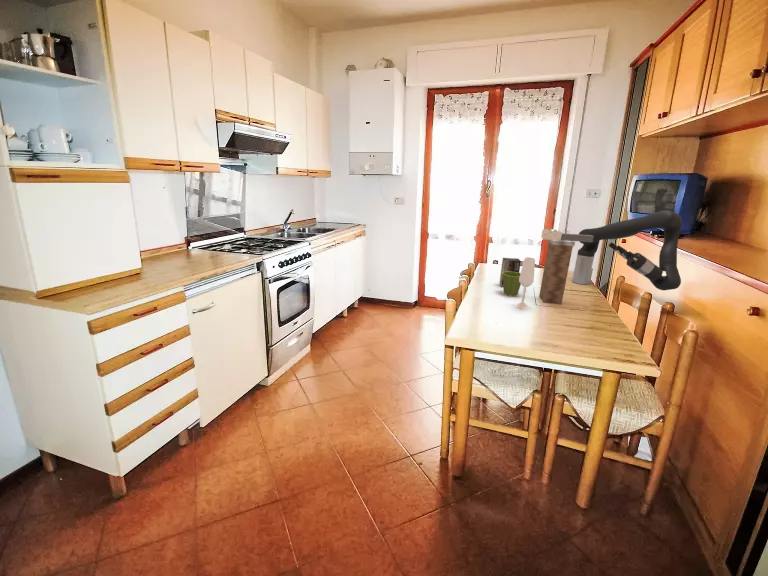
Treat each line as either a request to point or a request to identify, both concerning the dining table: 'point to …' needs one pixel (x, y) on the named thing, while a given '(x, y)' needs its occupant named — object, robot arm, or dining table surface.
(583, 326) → the dining table surface
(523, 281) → the champagne flute
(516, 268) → the coffee box
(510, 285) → the plant pot
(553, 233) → the block
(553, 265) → the anvil stand
